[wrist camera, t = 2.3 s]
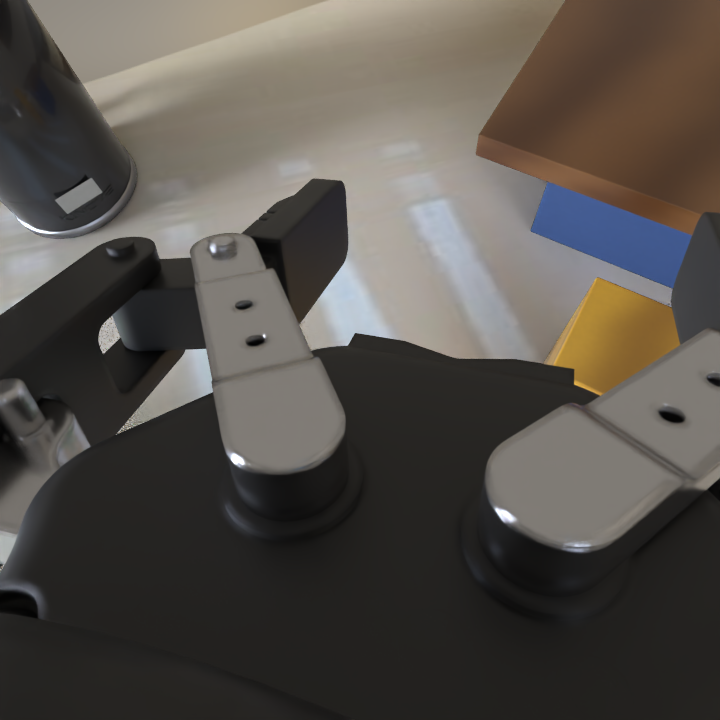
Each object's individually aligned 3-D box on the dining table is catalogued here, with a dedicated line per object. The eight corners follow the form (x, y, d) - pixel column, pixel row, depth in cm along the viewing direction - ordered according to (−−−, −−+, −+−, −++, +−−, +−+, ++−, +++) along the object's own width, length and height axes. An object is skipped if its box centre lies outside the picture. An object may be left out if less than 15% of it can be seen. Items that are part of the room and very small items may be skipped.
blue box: (530, 231, 36) (557, 154, 29) (606, 94, 40) (645, 0, 34) (747, 318, 32) (832, 253, 26) (807, 158, 36) (893, 66, 30)
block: (507, 433, 31) (550, 370, 21) (542, 363, 32) (597, 275, 23) (591, 476, 29) (676, 428, 20) (624, 401, 31) (716, 324, 22)
